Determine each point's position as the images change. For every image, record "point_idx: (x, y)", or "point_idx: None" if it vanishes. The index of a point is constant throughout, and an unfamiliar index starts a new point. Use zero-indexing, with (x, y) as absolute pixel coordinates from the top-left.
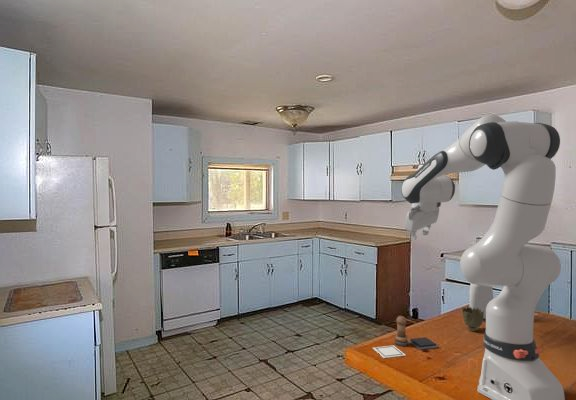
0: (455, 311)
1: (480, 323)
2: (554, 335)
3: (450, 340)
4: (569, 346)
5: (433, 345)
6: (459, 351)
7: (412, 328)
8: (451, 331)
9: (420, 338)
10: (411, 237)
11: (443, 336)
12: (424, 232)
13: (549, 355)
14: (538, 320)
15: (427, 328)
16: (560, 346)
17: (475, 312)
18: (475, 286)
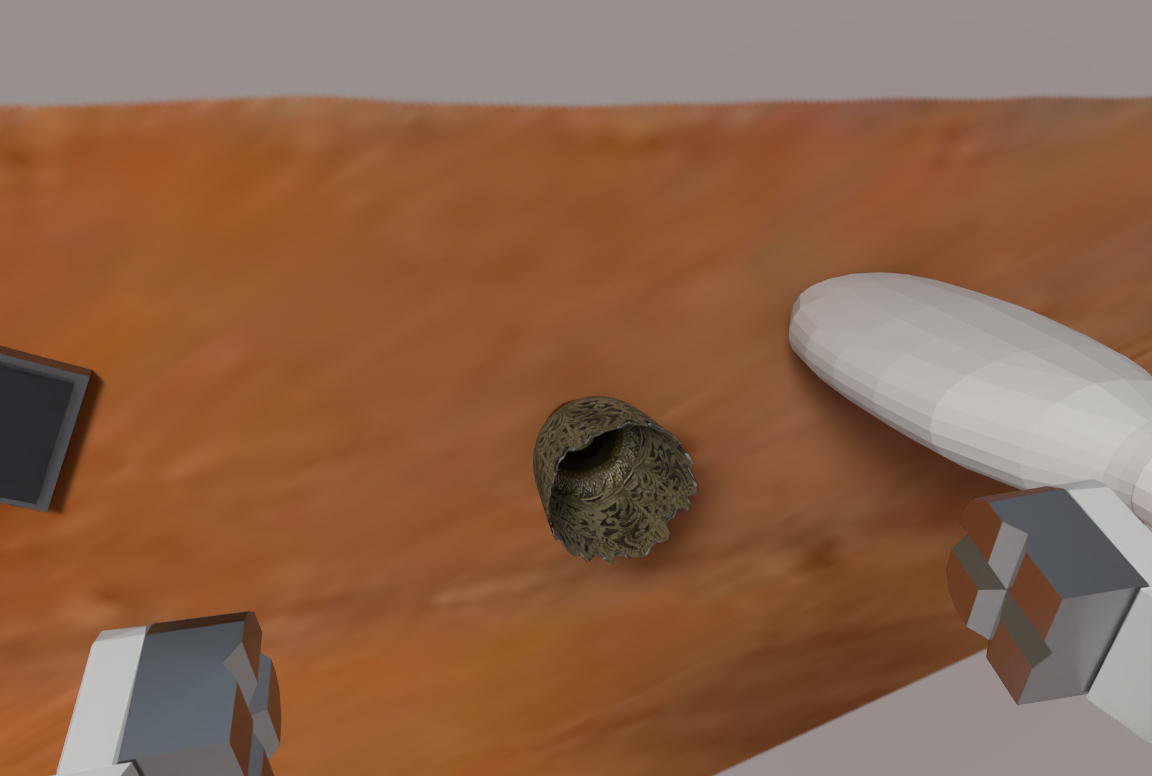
0: (882, 111)
1: (582, 511)
2: (823, 670)
3: (259, 462)
4: (716, 768)
5: (8, 499)
6: (138, 599)
7: (208, 141)
8: (429, 362)
9: (5, 383)
10: (86, 714)
11: (284, 392)
12: (1008, 591)
13: None
14: None
15: (327, 219)
16: (685, 755)
17: (674, 458)
18: (932, 439)
